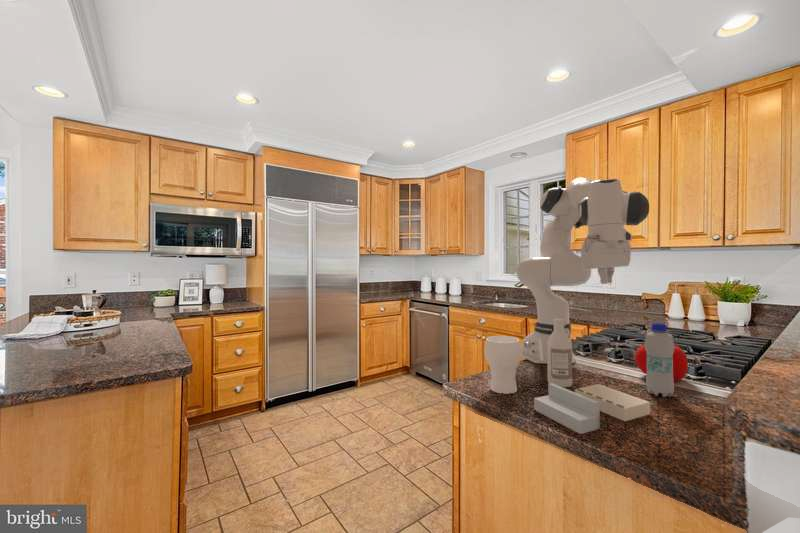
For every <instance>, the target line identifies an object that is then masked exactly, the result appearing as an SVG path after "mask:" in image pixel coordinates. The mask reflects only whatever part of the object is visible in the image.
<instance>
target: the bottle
mask: <svg viewBox="0 0 800 533" xmlns="http://www.w3.org/2000/svg"><path fill="white" fill-rule="evenodd" d="M667 329H668V328H667V325H666V323H662V322H654V323H652V324H651V331H649V332H647V333H646V334H645V340H644V341H645V342H644V344H645V350H646V352H647V353H646V355H647V374H645V376H646V378H645V384H646V389H647V392H648V393H649V394H650V395H654V396H655V397H658V396H659V394H661V395H662V396H661V397H662V398H666V397H672V396H673V394H674V391H675V381H674V380H673V353H674V345H675V343H674V338H673V335H672V334H670V333H667Z"/></svg>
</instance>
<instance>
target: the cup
mask: <svg viewBox="0 0 800 533" xmlns="http://www.w3.org/2000/svg"><path fill="white" fill-rule="evenodd" d="M484 357H485V359H486V360H485V361H486V362H487V364H488V366H489V369H490V374H491V378H490V385H489V386H490V387H489V389H490V390H491V391H492V392H494V393H497V394H502V393H503V394H502V395H504V394H505V395H507V394H509V395H510V393H511V394H515V393H516V392H517V391H518V387H517V381H516V374H517V369H518V367H519V365H520V363H521V359H522V344H521V341H520V339H519V338H518V337H515V336H507V335H492V336H488V337H486V339H485V344H484Z"/></svg>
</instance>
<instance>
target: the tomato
mask: <svg viewBox="0 0 800 533" xmlns="http://www.w3.org/2000/svg"><path fill="white" fill-rule="evenodd" d="M646 353H647V352H646V350H645V343H644V344H643V345H641V346H639V347H638V348H637V350H636V351H635V353H634V362H635V364H636V366H637V367H638V368H639V370H641V372H643V373H644V374H645V375H647V355H646ZM688 362H689V361H688V358H687V355H686V354H685V352H684V351H683V349H682V348H681V347H680V346H678V345H676V344H674V353H673V380H674V382H677V381H680V380H682V379H684V377H685V376H686V374H687V372H688V365H689V364H688Z"/></svg>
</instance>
